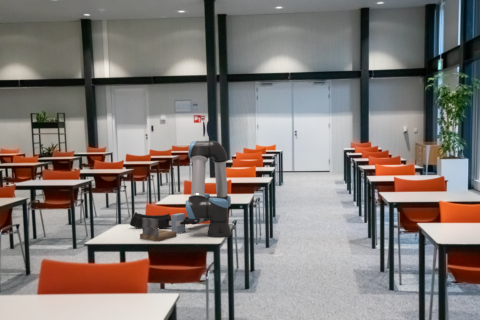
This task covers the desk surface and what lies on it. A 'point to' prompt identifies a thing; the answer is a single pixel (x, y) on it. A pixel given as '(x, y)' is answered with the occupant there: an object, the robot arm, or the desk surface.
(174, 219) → the slate gray rectangular prism
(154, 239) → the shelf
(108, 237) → the desk surface
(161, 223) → the magazine
